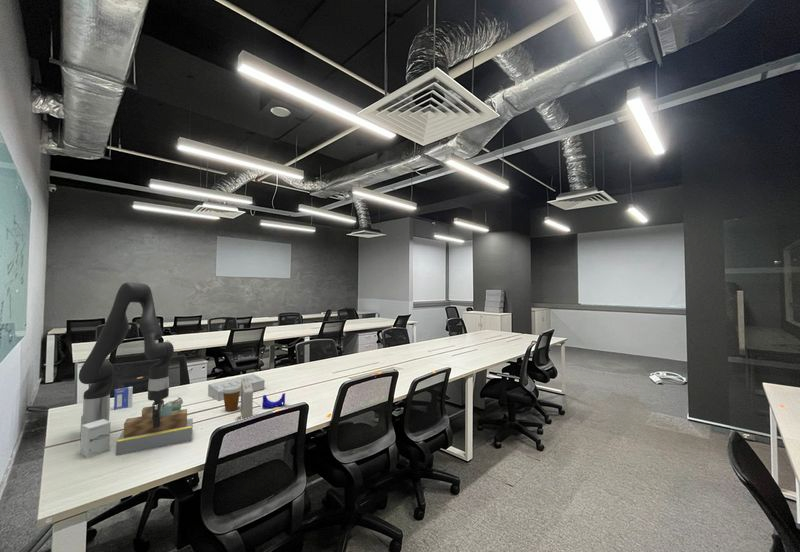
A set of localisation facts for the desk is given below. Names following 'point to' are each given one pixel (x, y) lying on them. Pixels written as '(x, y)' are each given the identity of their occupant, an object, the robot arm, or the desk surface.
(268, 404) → the blue arch block
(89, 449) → the supplement box
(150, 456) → the desk surface
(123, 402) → the walkman
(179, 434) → the block
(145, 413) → the crate kraft
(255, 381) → the warehouse
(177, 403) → the food container
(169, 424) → the brown stepped block
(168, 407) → the crate teal
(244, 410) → the network device
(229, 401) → the disposable coffee cup
